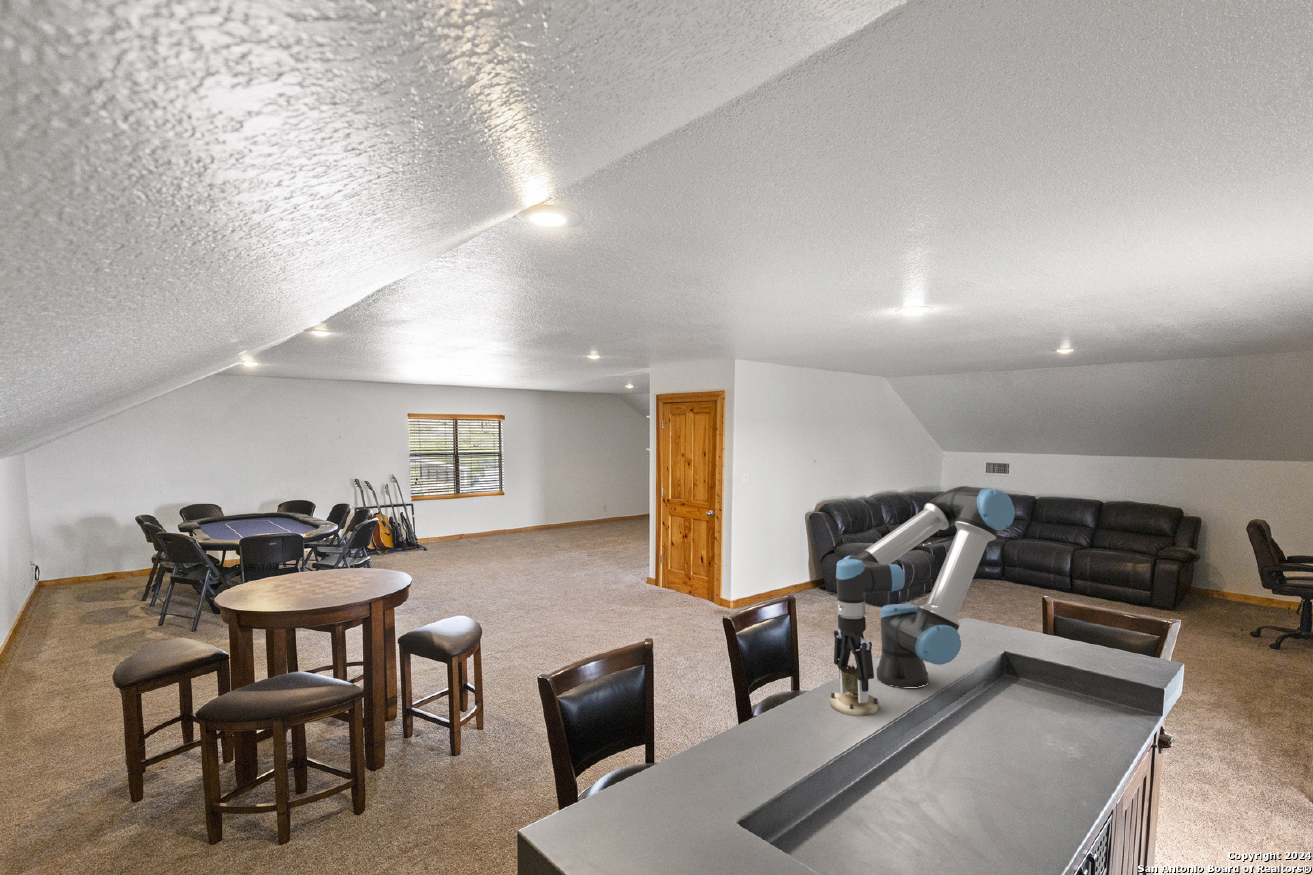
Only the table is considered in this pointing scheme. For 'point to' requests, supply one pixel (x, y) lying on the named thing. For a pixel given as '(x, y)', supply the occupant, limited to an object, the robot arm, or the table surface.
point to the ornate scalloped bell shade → (850, 680)
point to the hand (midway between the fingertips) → (854, 696)
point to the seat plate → (853, 704)
